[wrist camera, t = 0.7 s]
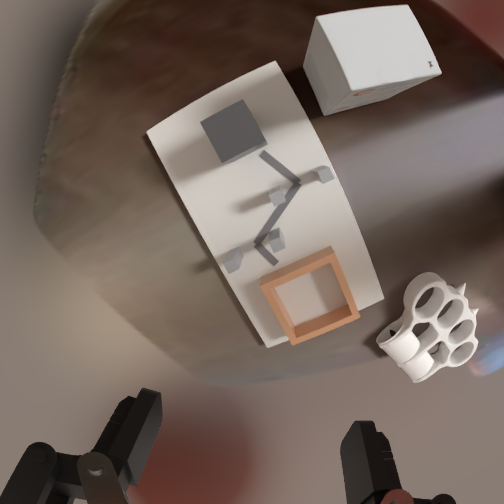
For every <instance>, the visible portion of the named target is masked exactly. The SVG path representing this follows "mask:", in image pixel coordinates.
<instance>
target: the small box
mask: <svg viewBox="0 0 504 504" xmlns="http://www.w3.org/2000/svg"><path fill="white" fill-rule="evenodd" d="M303 68H304V70H305V73H306V75H307V77H308V79H309V82H310V84H311V86H312V89H313V91H314V93H315V96H316V98H317V101H318V103H319V106H320V108H321V111H322V113H323V115H324V116H326V115H330V114H333V113H337V112H340V111H344V110H348V109H351V108H355V107H359V106H362V105H366V104H370V103H374V102H378V101H382V100H385V99H387V98H389V97H391V96H394V95H395V94H397V93H399V92H401V91H404V90H406V89H408V88H410V87H413V86H415V85H417V84H420V83H422V82H424V81H426V80H429V79H431V78H433V77H435V76H438V75H440V74H441V73H442V72H441V70H440V68H439V66H438V63H437V61H436V58H435V56H434V54H433V52H432V49H431V47H430V45H429V43H428V41H427V39H426V37H425V35H424V33H423V31H422V29H421V28H420V26H419V24H418V22H417V20H416V18H415V17H414V15H413V13H412V12H411V10H410V8H409V6H408V5H392V6H380V7H371V8H362V9H355V10H348V11H342V12H336V13H331V14H326V15H321V16H316V19H315V23H314V26H313V30H312V34H311V38H310V41H309V45H308V49H307V52H306V56H305V60H304V64H303Z"/></svg>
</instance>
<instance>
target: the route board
mask: <svg viewBox="0 0 504 504" xmlns="http://www.w3.org/2000/svg"><path fill="white" fill-rule="evenodd" d="M242 99H243V100H244V102H245V103H246V105H247V107H248V108H249V110H250V112H251V113H252V115H253V117H254V119H255V121H256V122H257V124H258V126H259V128H260V130H261V132H262V134H263V135H264V137H265V139H266V141H267V143H268V145H266V146H264V147H262V148H260V149H258V150H256V151H254V152H252V153H250V154H248V155H246V156H244V157H242V158H240V159H238V160H236V161H234V162H228V163H221V161H220V159H219V157H218V155H217V153H216V151H215V149H214V148H213V146H212V144H211V142H210V140H209V138H208V136H207V135H206V133H205V131H204V129H203V127H202V125H201V123H200V122H201V121H203V120H204V119H206V118H208V117H210V116H212V115H213V114H215V113H217V112H219V111H221V110H223V109H224V108H226V107H228V106H230V105H232V104H234V103H236V102H238V101H240V100H242ZM147 134H148V136H149V138H150V140H151V142H152V144H153V146H154V148H155V150H156V152H157V154H158V156H159V158H160V159H161V161H162V163H163V165H164V167H165V169H166V171H167V173H168V175H169V177H170V178H171V180H172V182H173V184H174V186H175V188H176V190H177V191H178V193H179V195H180V197H181V199H182V201H183V203H184V204H185V206H186V208H187V210H188V212H189V213H190V215H191V217H192V219H193V221H194V223H195V224H196V226H197V228H198V230H199V232H200V233H201V235H202V237H203V239H204V241H205V242H206V244H207V246H208V248H209V249H210V251H211V253H212V255H213V256H214V258H215V260H216V262H217V263H218V265H219V267H220V269H221V270H222V272H223V274H224V276H225V277H226V279H227V281H228V283H229V284H230V286H231V288H232V289H233V291H234V293H235V295H236V296H237V298H238V300H239V301H240V303H241V305H242V306H243V308H244V310H245V311H246V313H247V315H248V317H249V318H250V320H251V322H252V323H253V325H254V327H255V328H256V330H257V332H258V333H259V335H260V336H261V338H262V340H263V341H264V343H265V345H266V346H267V348H269V347H272V346H274V345H277V344H280V343H282V342H285V341H288V340H289V338H288V337H287V335H286V333H285V331H284V329H283V328H282V326H281V324H280V322H279V320H278V319H277V317H276V315H275V313H274V311H273V310H272V308H271V306H270V304H269V302H268V300H267V299H266V297H265V295H264V293H263V291H262V290H261V288H260V280H261V277H262V276H264V275H267V274H269V273H271V272H273V271H276V270H278V269H280V268H282V267H285V266H287V265H289V264H291V263H293V262H296V261H298V260H300V259H302V258H304V257H307V256H309V255H311V254H313V253H315V252H318V251H320V250H322V249H324V248H326V247H328V246H331V247H332V249H333V251H334V252H335V254H336V257H337V259H338V262H339V264H340V266H341V269H342V271H343V274H344V276H345V278H346V281H347V283H348V286H349V288H350V291H351V293H352V296H353V299H354V301H355V304H356V306H357V309H358V311H359V310H361V309H364V308H366V307H368V306H370V305H372V304H374V303H376V302H378V301H381V300H383V299H384V296H383V293H382V290H381V287H380V284H379V281H378V278H377V275H376V272H375V270H374V267H373V264H372V261H371V258H370V256H369V253H368V250H367V248H366V245H365V242H364V240H363V237H362V235H361V232H360V229H359V227H358V224H357V222H356V220H355V217H354V215H353V212H352V210H351V207H350V205H349V203H348V200H347V198H346V196H345V193H344V191H343V189H342V187H341V184H340V182H339V180H338V178H337V176H336V173H335V171H334V169H333V167H332V165H331V163H330V161H329V158H328V156H327V154H326V152H325V150H324V148H323V146H322V144H321V142H320V140H319V138H318V136H317V134H316V132H315V130H314V128H313V126H312V124H311V123H310V121H309V119H308V117H307V115H306V113H305V111H304V109H303V108H302V106H301V104H300V102H299V100H298V98H297V97H296V95H295V93H294V91H293V90H292V88H291V86H290V84H289V83H288V81H287V79H286V78H285V76H284V74H283V73H282V71H281V69H280V68H279V66H278V64H277V63H276V61H274V62H271V63H269V64H267V65H265V66H262V67H260V68H258V69H256V70H254V71H252V72H249V73H247V74H245V75H243V76H241V77H239V78H237V79H235V80H233V81H231V82H229V83H227V84H225V85H223V86H222V87H220V88H218V89H216V90H214V91H212V92H210V93H209V94H207V95H205V96H203V97H201V98H200V99H198V100H196V101H194V102H193V103H191V104H189V105H188V106H186V107H184V108H183V109H181V110H179V111H178V112H176V113H174V114H173V115H171V116H170V117H168V118H166V119H165V120H163V121H162V122H160V123H159V124H157V125H156V126H154V127H153V128H151V129H150V130H148V131H147ZM275 290H276V292H277V294H278V295H279V297H280V299H281V301H282V303H283V305H284V307H285V309H286V310H287V312H288V314H289V316H290V318H291V320H292V322H293V324H294V326H295V327H296V326H298V325H301V324H303V323H306V322H308V321H311V320H313V319H315V318H318V317H320V316H323V315H325V314H327V313H329V312H332V311H334V310H336V309H339V308H341V307H343V306H345V305H348V304H347V301H346V299H345V296H344V294H343V291H342V289H341V286H340V284H339V282H338V279H337V277H336V275H335V272H334V270H333V268H332V265H331V263H328V264H326V265H324V266H322V267H320V268H317V269H315V270H313V271H311V272H309V273H306V274H304V275H302V276H300V277H297V278H295V279H293V280H291V281H288V282H286V283H284V284H281V285H279V286H277V287H275Z"/></svg>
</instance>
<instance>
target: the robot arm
mask: <svg viewBox="0 0 504 504" xmlns="http://www.w3.org/2000/svg"><path fill="white" fill-rule="evenodd" d="M161 422H162V401H161V393H160V392H157V391H153V390H149V389H146V388H142V389H141V391H140V392H139V394H138V396H137V398H134V397H131V396H128V397H127V398H125V399H124V400H122V401H121V402H120V403H119V404H118V406H117V408H116V409H115V411H114V414H113V415H112V416H111V418H110V421H109V422H108V423H107V425H106V427H105V429H104V431H103V432H102V434H101V436H100V438H99V440H98V441H97V443H96V445H95V447H94V448H93V449H92V450H91V451H90V452H87V453H85V454H83V455H78V456H77V455H69V454H64V453H58V452H55V450H54V449H53V448H52V447H51V446H50V445H48V444H46V443H43V442H36V443H33V444H31V445H29V446H28V448H27V449H26V451H25V453H24V454H23V456H22V458H21V459H20V461H19V463H18V465H17V466H16V468H15V470H14V472H13V474H12V475H11V477H10V479H9V481H8V483H7V485H6V487H5V489H4V490H3V492H2V495H1V496H0V504H73V501H74V499H75V498H78V499H84V500H87V503H88V504H131V503H130V501H129V499H128V496H127V494H126V491H127V489H128V486H129V484H131V485H134V486H137V485H138V482H139V480H140V477H141V475H142V472H143V469H144V467H145V464H146V462H147V459H148V456H149V454H150V452H151V449H152V446H153V444H154V441H155V439H156V436H157V434H158V431H159V429H160V426H161ZM340 454H341V460H342V468H343V475H344V482H345V490H346V498H347V504H456V502H455V500H454V499H453V497H451V496H450V495H447V494H440V495H437V496H436V497H434V498H433V499H432V500H429V499H419V498H413V497H412V496H411V494H410V493H409V492H407V491H405V490H403V489H402V487H401V484H400V480H399V476H398V472H397V469H396V465H395V462H394V460H393V454H392V452H391V447H390V444H389V441H388V439H387V438H386V437H385V435H384V434H383V433H382V432H377V431H376V428H375V424H374V422H373V421H355V422H354V423H353V424H352V426H351V428H350V429H349V431H348V432H347V434H346V436H345V437H344V439H343V440H342V443H341V448H340Z"/></svg>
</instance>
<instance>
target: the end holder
mask: <svg viewBox="0 0 504 504" xmlns="http://www.w3.org/2000/svg"><path fill="white" fill-rule="evenodd" d="M328 263H331V265H332V268H333V270H334V272H335V275H336V277H337V279H338V282H339V284H340V286H341V289H342V291H343V294H344V296H345V299H346V301H347V304H348V305H345V306H343V307H341V308H339V309H336V310H334V311H332V312H329V313H327V314H325V315H323V316H320V317H318V318H315V319H313V320H311V321H308V322H306V323H303V324H301V325H298V326H296V327H295V326H294V324H293V322H292V320H291V318H290V316H289V314H288V312H287V310H286V309H285V307H284V305H283V303H282V301H281V299H280V297H279V295H278V294H277V292H276V290H275V287H277V286H279V285H281V284H284V283H286V282H288V281H291V280H293V279H295V278H297V277H300V276H302V275H304V274H306V273H309V272H311V271H313V270H315V269H317V268H320V267H322V266H324V265H326V264H328ZM260 288H261V290H262V291H263V293H264V295H265V297H266V299H267V300H268V302H269V304H270V306H271V308H272V310H273V311H274V313H275V315H276V317H277V319H278V320H279V322H280V324H281V326H282V328H283V329H284V331H285V333H286V335H287V337H288V338H289V340H290V342H291V344H292V346H293V345H295V344H298V343H301V342H303V341H306V340H308V339H311V338H313V337H316V336H318V335H321V334H323V333H325V332H328V331H330V330H333V329H335V328H337V327H340V326H342V325H344V324H347V323H349V322H351V321H353V320H356V319H358V318H360V314H359V311H358V309H357V306H356V304H355V301H354V299H353V296H352V293H351V291H350V288H349V286H348V283H347V281H346V278H345V276H344V274H343V271H342V269H341V266H340V264H339V262H338V259H337V257H336V254H335V252H334V251H333V249H332V247H331V246H328V247H326V248H324V249H322V250H320V251H318V252H315V253H313V254H311V255H309V256H307V257H304V258H302V259H300V260H298V261H296V262H293V263H291V264H289V265H287V266H285V267H282V268H280V269H278V270H276V271H273V272H271V273H269V274H267V275H264V276H262V277H261V280H260Z"/></svg>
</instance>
